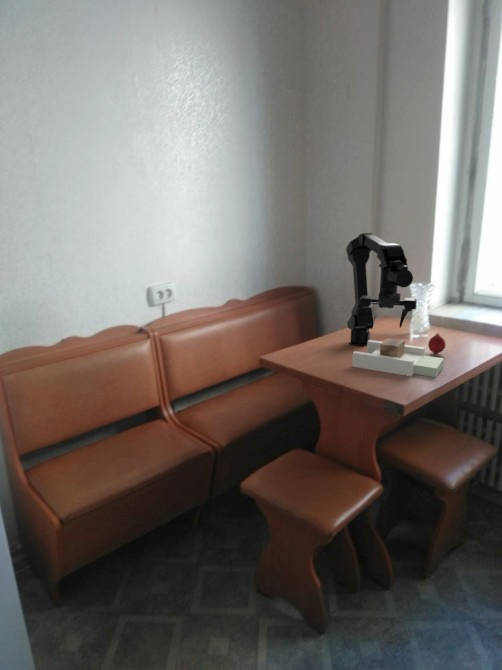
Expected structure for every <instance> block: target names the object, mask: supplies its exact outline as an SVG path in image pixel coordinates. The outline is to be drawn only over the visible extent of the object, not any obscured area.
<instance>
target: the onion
mask: <svg viewBox="0 0 502 670" xmlns="http://www.w3.org/2000/svg"><path fill="white" fill-rule="evenodd" d="M427 346H428V348H429V349H428V350H430V352H431V353H433V354H434V355H438V354H440V353H442V352H443V351H444V350H445V348H446V341H445V338H443V337H442V336H441V335H440V333H439V332H436V333H435V335H433V336H432V337H431V338H430V339H429V340H428V344H427Z"/></svg>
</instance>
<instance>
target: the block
mask: <svg viewBox="0 0 502 670" xmlns="http://www.w3.org/2000/svg"><path fill="white" fill-rule="evenodd" d="M381 342H382V343H381V344H380V355H384V356H390V357H397V358H400V357H401V356H402V355H403V354H404V345H406V344H405V343H406V341H405V339H397V338H389V337H387V338H385V340H383V341H381Z"/></svg>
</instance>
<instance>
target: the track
mask: <svg viewBox="0 0 502 670" xmlns="http://www.w3.org/2000/svg"><path fill="white" fill-rule="evenodd" d="M382 342H383V341H379V340H374V339H373V340H372V339H370V340H368V341H367V345H366V352H364V351H358V350H355V351H353V352H352V363H351V364H352V365H351V366H352V368H358V369H365V370H371V371H377V372H383V373H389V374H393V373H394V375H401V376H405V375H406V376H407V377H412V376H413V375H415V374H414V365H415V364H416V362H417V361H418V360H419V359H420V358H421V357H422V356H426V355H425V354H426V353H425V352H426V347H424V346H416V345H411V344H404V354H403V355H402V356H401V357H400V358H397V357H390V356H384V355H380V344H381V343H382Z"/></svg>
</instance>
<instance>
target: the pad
mask: <svg viewBox="0 0 502 670" xmlns="http://www.w3.org/2000/svg"><path fill="white" fill-rule="evenodd" d="M444 359H445V358H443V357H437V356H436V357H435V356H429V355H425V356H422V357H421V358H420V359H419V360H418V361H417V362H416V364H415V365H414V374H413V375H419V376H420V375H421V376H426V377H432V378H437V376H438V375H439V373H440V372H441V370H443V368H444V362H445V361H444Z"/></svg>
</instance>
